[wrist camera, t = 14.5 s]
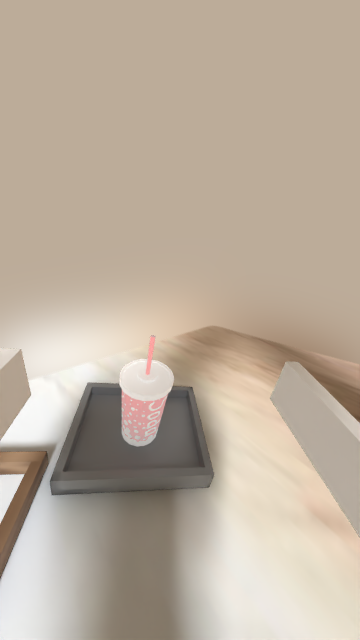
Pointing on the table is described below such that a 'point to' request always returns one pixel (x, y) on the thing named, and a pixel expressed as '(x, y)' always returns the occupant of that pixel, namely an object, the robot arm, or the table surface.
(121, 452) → the tray
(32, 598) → the table surface
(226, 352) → the table surface
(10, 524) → the holder
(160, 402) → the beverage cup
